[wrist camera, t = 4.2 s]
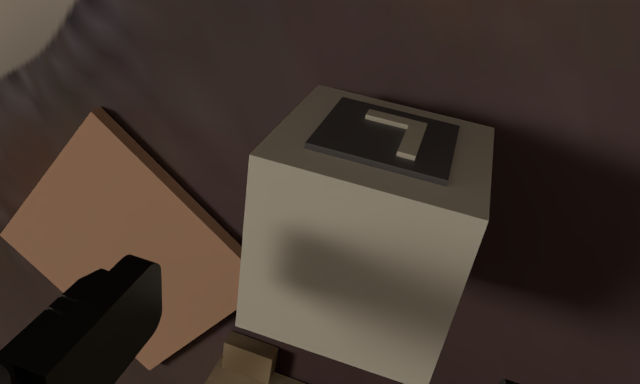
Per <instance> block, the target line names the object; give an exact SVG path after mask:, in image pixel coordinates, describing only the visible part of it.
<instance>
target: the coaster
mask: <svg viewBox="0 0 640 384" xmlns="http://www.w3.org/2000/svg"><path fill="white" fill-rule="evenodd" d="M0 236H1V237H2V238H4V239H5V240H6V241H7V242H8V243H9V244H10V245H11V246H12V247H13V248H15V249H16V250H17V251H18V252H19V253H20V254H21V255H22V256H23V257H25V258H26V259H27V260H28V261H29V262H30V263H31V264H32V265H33V266H34V267H36V268H37V269H38V270H39V271H40V272H41V273H42V274H43V275H44V276H46V277H47V278H48V279H49V280H50V281H51V282H52V283H53V284H54V285H55V286H57V287H58V288H59V289H60V290H61V291H62V292H63V293H64V292H65V291H66V290H67V289H68V288H69V287H71V286H72V285H73V284H74V283H75V282H76V281H77V280H78V279H80V278H82V277H84V276H86V275H88V274H90V273H92V272H94V271H96V270H98V269H100V268H102V269H105V270H108V271H109V270H110V269H111V268H113V267H114V266H115V265H116V264H117V263H118V262H119V261H120V260H121V259H122V258H123V257H124V256H126V255H129V254H131V255H134V256H137V257H140V258H143V259H146V260H149V261H152V262H155V263H158V264H159V265H160V266H161V277H162V315H161V319H160V322H159V325H158V327H157V329H156V331H155V332H154V334H153V335H152V337H151V338H150V339H149V341H148V342H147V343H146V344H145V346H144V347H143V348H142V349H141V351H140V352H139V353H138V354H137V356H136V357H135V358H136V359H137V360H138V361H139V362H140V363H142V364H143V365H144V366H145V367H146V368H147V369H148V370H151V369H152V368H154V367H155V366H156V365H158V364H159V363H161V362H162V361H164V360H165V359H166V358H168V357H169V356H171V355H172V354H174V353H175V352H176V351H178V350H179V349H181V348H182V347H184V346H185V345H186V344H188V343H189V342H191V341H192V340H194V339H195V338H196V337H198V336H199V335H201V334H202V333H204V332H205V331H207V330H208V329H209V328H211V327H212V326H214V325H215V324H217V323H218V322H219V321H221V320H222V319H224V318H225V317H227V316H228V315H229V314H231V313H232V312H234V311H235V310H237V300H238V287H239V275H240V263H241V251H242V246H241V245H240V244H239V243H238V242H237V241H236V240H235V239H234V238H233V237H232V236H231V235H230V234H229V233H228V232H227V231H226V230H225V229H224V228H223V227H222V226H221V225H220V224H219V223H218V222H217V221H216V220H215V219H214V218H213V217H211V216H210V215H209V214H208V213H207V212H206V211H205V210H204V209H203V208H202V207H201V206H200V205H199V204H198V203H197V202H196V201H195V200H194V199H193V198H192V197H191V196H190V195H189V194H188V193H187V192H186V191H185V190H184V189H183V188H182V187H181V186H180V185H179V184H178V183H177V182H176V181H175V180H174V179H173V178H172V177H171V176H170V175H169V174H168V173H167V172H166V171H165V170H164V169H163V168H162V167H161V166H160V165H159V164H158V163H157V162H156V161H155V160H154V159H153V158H152V157H151V156H150V155H149V154H148V153H147V152H146V151H145V150H144V149H143V148H142V147H141V146H140V145H139V144H138V143H137V142H136V141H135V140H134V139H133V138H132V137H131V136H130V135H129V134H128V133H127V132H126V131H125V130H124V129H123V128H122V127H121V126H120V125H119V124H118V123H117V122H116V121H115V120H114V119H113V118H112V117H110V116H109V115H108V114H107V113H106V112H105V111H104V110H103V109H102V108H101V107H99V108H97V109H95V110H94V111H92V112H90V114H89V115H88V117H87V118H86V119H85V121H84V122H83V123H82V125H81V126H80V127H79V129H78V130H77V131H76V133H75V134H74V135H73V137H72V138H71V140H70V141H69V142H68V144H67V145H66V146H65V148H64V149H63V150H62V152H61V153H60V154H59V156H58V157H57V158H56V160H55V161H54V163H53V164H52V165H51V167H50V168H49V169H48V171H47V172H46V173H45V175H44V176H43V177H42V179H41V180H40V181H39V183H38V184H37V185H36V187H35V188H34V190H33V191H32V192H31V194H30V195H29V196H28V198H27V199H26V200H25V202H24V203H23V204H22V206H21V207H20V208H19V210H18V211H17V213H16V214H15V215H14V217H13V218H12V219H11V221H10V222H9V223H8V225H7V226H6V227H5V229H4V230H3V231H2V233H1V234H0Z"/></svg>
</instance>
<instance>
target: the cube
mask: <svg viewBox="0 0 640 384" xmlns="http://www.w3.org/2000/svg"><path fill="white" fill-rule="evenodd" d="M494 129H495V128H493V127H489V126H485V125H481V124H477V123H473V122H469V121H465V120H460V119H456V118H452V117H448V116H444V115H440V114H436V113H432V112H428V111H424V110H420V109H416V108H412V107H408V106H404V105H399V104H395V103H391V102H387V101H383V100H379V99H375V98H371V97H367V96H363V95H359V94H355V93H351V92H347V91H343V90H338V89H334V88H330V87H326V86H322V85H318V86H317V87H316V88H315V89H314V90H313V91H312V92H311V93H310V94H309V95H308V96H307V97H306V98H305V99H304V100H303V101H302V102H301V103H300V104H299V105H298V106H297V107H296V108H295V109H294V110H293V111H292V112H291V113H290V114H289V115H288V116H287V117H286V118H285V119H284V120H283V121H282V122H281V123H280V124H279V125H278V126H277V127H276V128H275V129H274V130H273V131H272V132H271V133H270V134H269V135H268V136H267V137H266V138H265V139H264V140H263V142H262V143H261V144H260V145H259V146H258V147H257V148H256V149H255V150H254V151H253V152H252V153H251V154H250V155H249V166H248V178H247V190H246V203H245V215H244V227H243V239H242V251H241V263H240V275H239V287H238V300H237V312H236V324H235V326H237V327H240V328H243V329H246V330H249V331H252V332H255V333H258V334H261V335H264V336H267V337H270V338H272V339H275V340H278V341H281V342H284V343H287V344H290V345H293V346H296V347H299V348H302V349H305V350H308V351H311V352H313V353H316V354H319V355H322V356H325V357H328V358H331V359H334V360H337V361H340V362H343V363H346V364H349V365H352V366H354V367H357V368H360V369H363V370H366V371H369V372H372V373H375V374H378V375H381V376H384V377H387V378H390V379H393V380H395V381H398V382H401V383H404V384H429V382H430V379H431V377H432V374H433V371H434V368H435V366H436V363H437V360H438V358H439V355H440V352H441V349H442V347H443V344H444V341H445V339H446V336H447V333H448V330H449V328H450V325H451V322H452V320H453V317H454V314H455V311H456V309H457V306H458V303H459V301H460V298H461V295H462V292H463V290H464V287H465V284H466V281H467V279H468V276H469V273H470V271H471V268H472V265H473V262H474V260H475V257H476V254H477V252H478V249H479V246H480V243H481V241H482V238H483V235H484V233H485V230H486V227H487V224H488V222H489V210H490V193H491V177H492V161H493V145H494Z"/></svg>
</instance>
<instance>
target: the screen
mask: <svg viewBox="0 0 640 384" xmlns="http://www.w3.org/2000/svg"><path fill="white" fill-rule="evenodd" d="M278 349H279V348H278V347H275V346H273V345H270V344H267V343H264V342H261V341H259V340H256V339H253V338H250V337H248V336H245V335H242V334H239V333H236V332H234V331H231V332H230V334H229V336H228V337H227V339H226V340H225V342H224V349H223V355H222V356H221V358H220V360H219V361H218V363H217V365H216V366H215V368H214V369H213V371H212V373H211V374H210V376H209V377H208V379H207V381H206V382H205V384H306V383H303V382H300V381H298V380H295V379H292V378H289V377H287V376H284V375H281V374H279V373H276V372H275V366H276V361H277V355H278Z"/></svg>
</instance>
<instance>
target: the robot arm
mask: <svg viewBox="0 0 640 384" xmlns="http://www.w3.org/2000/svg"><path fill="white" fill-rule="evenodd" d="M161 315H162V277H161V266H160V265H159V264H158V263H155V262H152V261H149V260H146V259H143V258H140V257H137V256H134V255H131V254H129V255H126V256H124V257H123V258H122V259H121V260H120V261H119V262H118V263H117V264H116V265H115V266H114V267H113V268H111V269H110V270H109V271H108V270H105V269H102V268H100V269H98V270H96V271H94V272H92V273H90V274H88V275H86V276H84V277H82V278H80V279H78V280H77V281H76V282H75V283H74V284H73V285H72V286H71V287H69V288H68V289H67V290H66V291H65V292H64V293H63V294H62V296H61V298H60V297H58V298H57V299H56V300H55V301H54V302H53V303H52V304H51V305H50V306H49V307H48V310H44V311H43V312H42V313H41V314H40V315H39V316H38V317H37V318H35V319H34V320H33V321H32V322H31V323H30V324H29V325H28V326H27V327H26V328H25V329H23V330H22V331H21V332H20V333H19V334H18V335H17V336H16V337H15V338H14V339H12V340H11V341H10V342H9V343H8V344H7V345H6V346H5V347H4V348H3V349H2V350H0V384H114V383H115V382H116V381H117V380H118V378H119V377H120V376H121V375H122V373H123V372H124V371H125V370H126V368H127V367H128V366H129V364H130V363H131V362H132V361H133V359H134V358H135V357H136V356H137V354H138V353H139V352H140V351H141V349H142V348H143V347H144V346H145V344H146V343H147V342H148V341H149V339H150V338H151V337H152V335H153V334H154V332H155V331H156V329H157V327H158V325H159V322H160V319H161ZM499 384H519V383H516V382H513V381H510V380H507V379H504V378H503V379H502V380H501V381H500V383H499Z"/></svg>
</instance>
